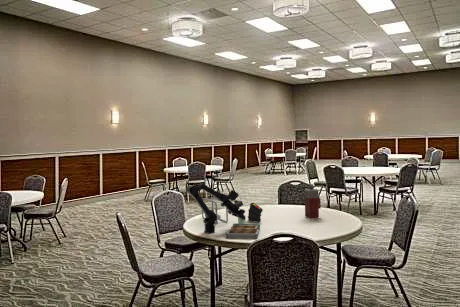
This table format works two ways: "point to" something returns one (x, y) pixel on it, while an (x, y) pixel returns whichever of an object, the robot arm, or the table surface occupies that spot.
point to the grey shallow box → (242, 235)
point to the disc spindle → (241, 221)
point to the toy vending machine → (312, 202)
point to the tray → (245, 228)
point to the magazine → (254, 213)
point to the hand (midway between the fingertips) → (243, 218)
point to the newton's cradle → (216, 210)
